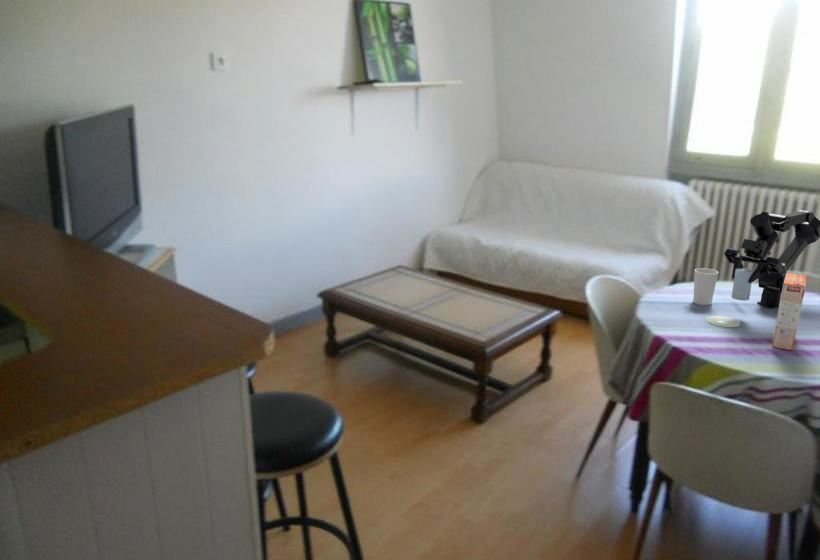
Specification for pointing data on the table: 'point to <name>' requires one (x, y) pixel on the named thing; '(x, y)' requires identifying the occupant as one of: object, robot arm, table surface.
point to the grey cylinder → (742, 284)
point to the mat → (722, 321)
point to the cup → (704, 285)
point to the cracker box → (789, 311)
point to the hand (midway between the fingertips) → (740, 280)
